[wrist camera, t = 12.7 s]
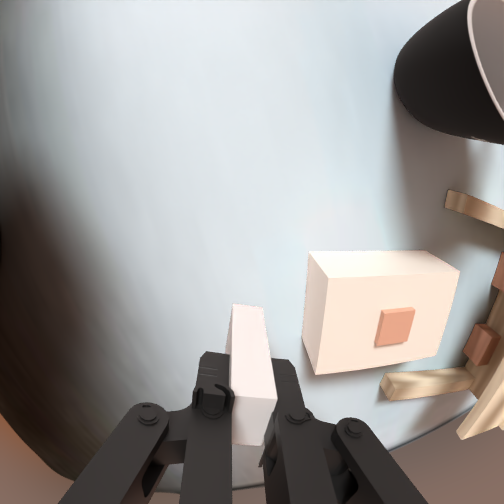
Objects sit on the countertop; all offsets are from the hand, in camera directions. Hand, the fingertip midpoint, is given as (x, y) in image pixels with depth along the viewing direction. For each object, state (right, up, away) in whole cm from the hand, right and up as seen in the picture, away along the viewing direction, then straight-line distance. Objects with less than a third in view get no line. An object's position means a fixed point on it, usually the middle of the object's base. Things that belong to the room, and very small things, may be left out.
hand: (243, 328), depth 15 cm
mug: (+15, +17, +2) cm, 23 cm away
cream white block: (+9, +1, +7) cm, 12 cm away
